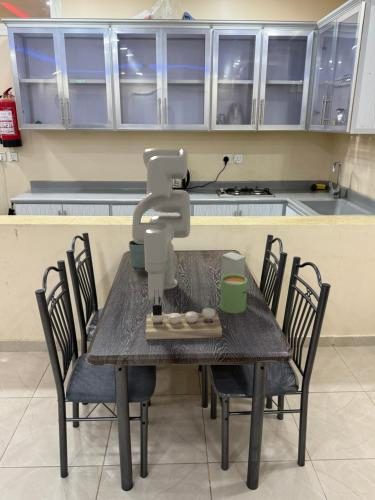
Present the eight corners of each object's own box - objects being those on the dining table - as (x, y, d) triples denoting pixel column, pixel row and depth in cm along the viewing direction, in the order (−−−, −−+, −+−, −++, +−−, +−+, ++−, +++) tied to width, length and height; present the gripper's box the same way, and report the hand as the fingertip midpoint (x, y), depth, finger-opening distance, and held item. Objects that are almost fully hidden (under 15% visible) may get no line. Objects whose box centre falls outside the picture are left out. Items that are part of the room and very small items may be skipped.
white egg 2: (185, 324, 143) (185, 311, 141) (197, 323, 143) (197, 311, 141) (185, 330, 139) (185, 317, 137) (198, 330, 139) (198, 317, 137)
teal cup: (145, 269, 194) (144, 246, 190) (126, 267, 197) (125, 244, 193) (152, 262, 204) (152, 240, 200) (134, 260, 206) (133, 238, 202)
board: (147, 321, 146) (147, 314, 145) (217, 319, 147) (217, 312, 146) (145, 339, 135) (145, 331, 134) (221, 337, 136) (222, 329, 135)
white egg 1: (168, 325, 143) (168, 313, 141) (180, 325, 143) (180, 312, 141) (168, 331, 139) (168, 319, 137) (181, 331, 139) (181, 318, 137)
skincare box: (219, 287, 174) (220, 254, 169) (229, 283, 178) (231, 251, 173) (234, 294, 168) (235, 259, 163) (244, 289, 173) (246, 256, 167)
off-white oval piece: (151, 323, 142) (151, 311, 140) (164, 323, 142) (163, 310, 141) (151, 329, 138) (151, 317, 136) (164, 329, 138) (163, 316, 136)
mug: (246, 314, 152) (247, 285, 148) (218, 312, 153) (219, 283, 149) (247, 299, 163) (249, 273, 159) (222, 297, 165) (223, 271, 161)
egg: (201, 320, 143) (201, 307, 141) (213, 319, 143) (214, 307, 141) (202, 326, 139) (203, 313, 137) (215, 326, 139) (215, 313, 137)
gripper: (145, 257, 139) (147, 304, 145) (144, 273, 125) (145, 325, 131) (167, 257, 140) (167, 304, 145) (167, 273, 125) (168, 324, 131)
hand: (157, 314), depth 138 cm, fingers closed
